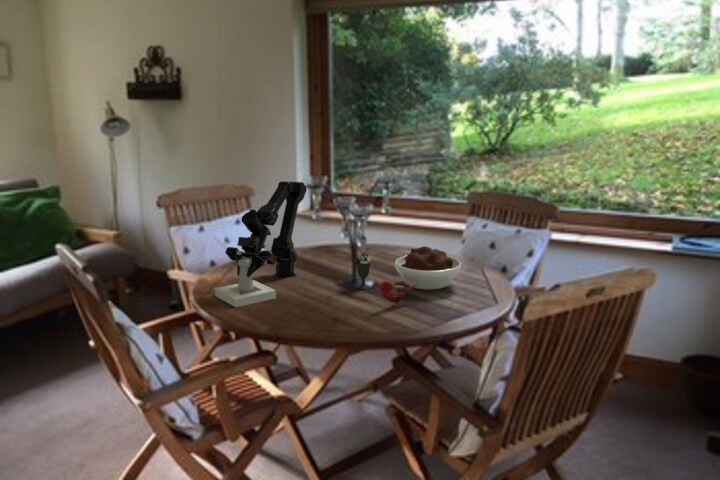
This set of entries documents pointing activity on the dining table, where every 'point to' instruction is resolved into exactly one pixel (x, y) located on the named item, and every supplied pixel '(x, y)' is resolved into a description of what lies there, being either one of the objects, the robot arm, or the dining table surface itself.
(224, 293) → the grey block
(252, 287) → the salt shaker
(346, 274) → the dining table surface
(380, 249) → the dining table surface
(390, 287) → the decorative bird figurine
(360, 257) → the sundae
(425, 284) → the bowl of chocolate pudding
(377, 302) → the dining table surface
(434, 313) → the dining table surface
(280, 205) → the robot arm
